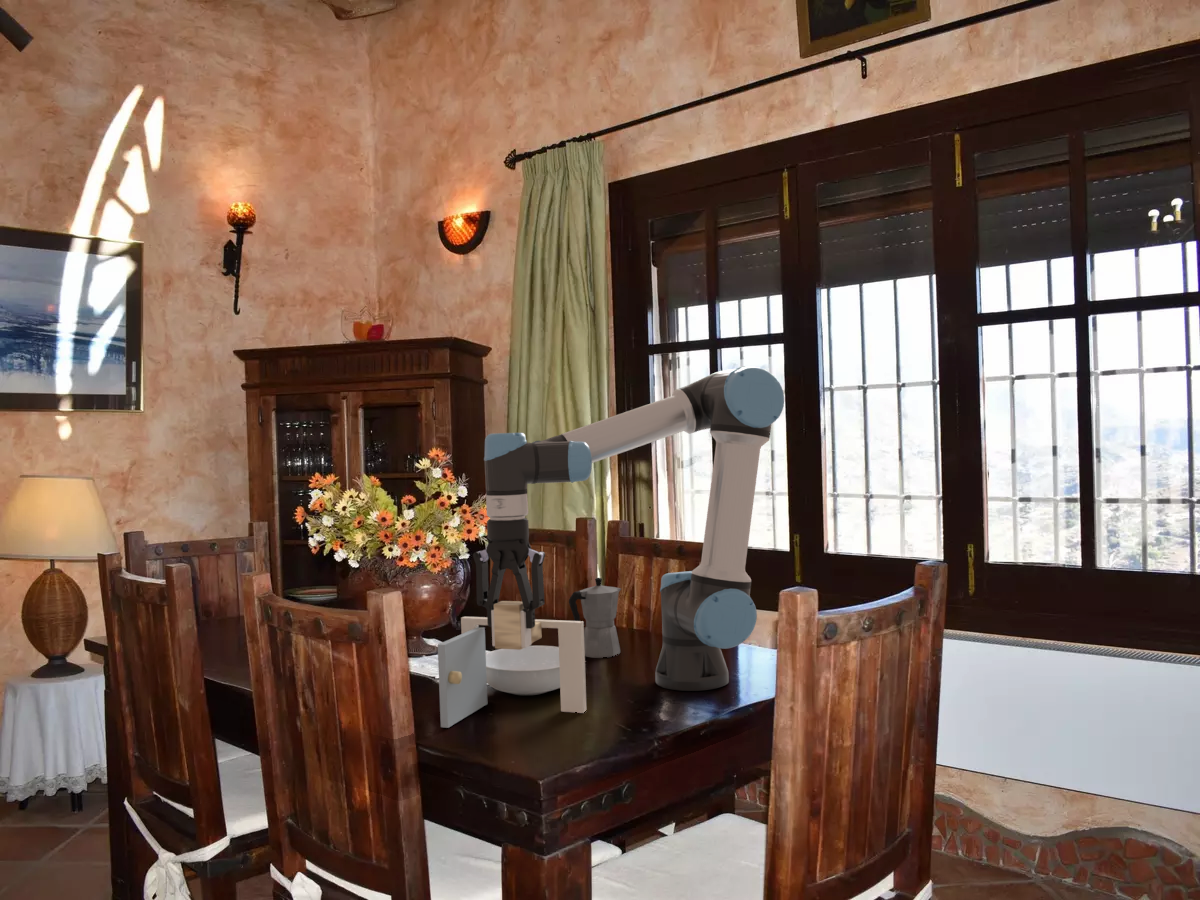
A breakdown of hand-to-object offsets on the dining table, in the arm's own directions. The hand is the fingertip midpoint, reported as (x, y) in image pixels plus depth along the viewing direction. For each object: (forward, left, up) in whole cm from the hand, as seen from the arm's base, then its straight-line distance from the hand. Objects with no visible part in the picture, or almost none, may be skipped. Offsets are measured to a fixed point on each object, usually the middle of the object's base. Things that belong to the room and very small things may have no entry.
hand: (511, 645), depth 177 cm
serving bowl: (+7, -22, -15) cm, 27 cm away
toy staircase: (0, -3, 0) cm, 3 cm away
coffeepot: (+4, -54, -15) cm, 56 cm away
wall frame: (+2, -10, -14) cm, 18 cm away
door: (+10, -2, -14) cm, 17 cm away
